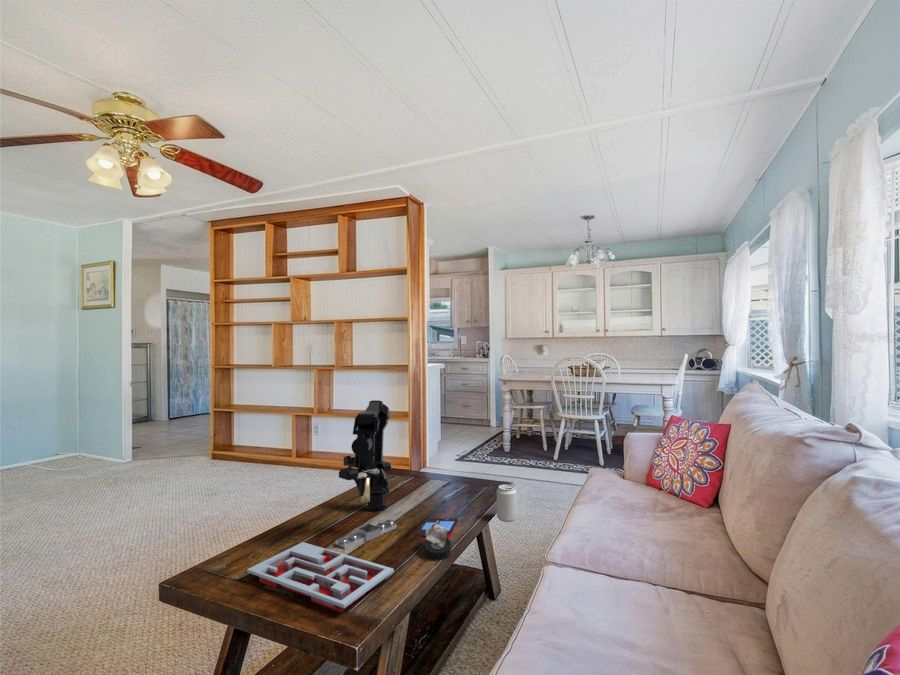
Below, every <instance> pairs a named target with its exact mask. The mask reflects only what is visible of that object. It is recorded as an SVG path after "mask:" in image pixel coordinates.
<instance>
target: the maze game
mask: <svg viewBox="0 0 900 675" xmlns="http://www.w3.org/2000/svg"><path fill="white" fill-rule="evenodd" d="M394 570H395V568H392V567H388V566H386V565H383V564H378V563H375V562H373V561H369V560H366V559H361V558H360V557H359V558H358V557H356V556H355V557H354V556H351V555H348V554H346V553H345V554H344V553H342V552H338V551H335V550H331V549H328V548H325V547H321V546H318V545H314V544H310V543H307V542H304V541H303V542H300V543H298V544H296V545H293V546H292V547H290V548H287V549H286V550H284V551H281V552H280V553H278V554H276V555H274V556H273V555H272V557H269V558H268V559H265V560H263V561H261V562H259V563H256V564H255V565H253V566H251V567H249V568H247V570H246V571H247V573H249V574H251V575H254V576H257V577H258V578H259V583H261V584H264V585H267V586H268V587H271V588H274V589H277V588H279V587H282V589H284V590H287V591H289V592H290V591H291V592H293V593H296V594H298V595H302V596H304V597H306V598H311V599H310V601H311V603H314V604H317V605H320V606H323V607H325V608H327V609H331V610H334V611H336V612H338V613H343V612H344V611H345V610H347V609H348V608H350V607H351V606H352V605H353V604H355V603H356V602H358V601H359V600H360V599H361V598H363V597H364V596H365V595H366V593H369V592H371V591H372V590H374V589H375V588H376V587H377V586H379V584H381V583H383V582H384V581H385V580H386V578H388V577H389V576H390V575H392V574H393V573H394Z"/></svg>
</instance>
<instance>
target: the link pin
mask: <svg viewBox="0 0 900 675" xmlns="http://www.w3.org/2000/svg"><path fill="white" fill-rule="evenodd" d="M365 477H366V481H365V488H364V494H363V496H360V503H368V502H369V501H370V477H367V475H366V476H365Z"/></svg>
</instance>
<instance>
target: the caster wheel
mask: <svg viewBox="0 0 900 675" xmlns="http://www.w3.org/2000/svg"><path fill="white" fill-rule="evenodd" d="M446 536H447V530H446V528H444V527H442V526H440V525H439V520H438V521H436V522H435V523H434V524H433V525H432V526H430V527H429V528H428V529H427V530H426V537H425V539H424V554H425V556H426V557H427V558H429V559H430V560H434V561H441V560H444V559H446V558H448V557H449V556H450V555H451V553H452V542H451V540H450V538H447V537H446Z"/></svg>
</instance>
